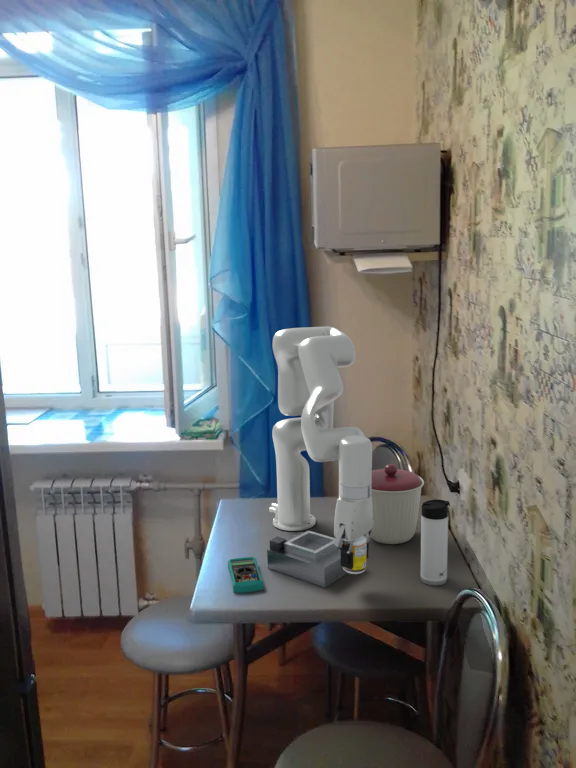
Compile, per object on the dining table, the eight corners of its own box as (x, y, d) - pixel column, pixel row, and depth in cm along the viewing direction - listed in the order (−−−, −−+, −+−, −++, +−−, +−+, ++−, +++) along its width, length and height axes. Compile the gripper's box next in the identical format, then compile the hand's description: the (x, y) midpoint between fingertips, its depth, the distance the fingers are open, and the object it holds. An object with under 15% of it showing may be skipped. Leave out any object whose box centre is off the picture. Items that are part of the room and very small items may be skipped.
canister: (351, 546, 192) (350, 471, 188) (365, 521, 209) (365, 453, 205) (418, 554, 186) (418, 477, 182) (427, 528, 203) (428, 457, 199)
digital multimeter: (233, 595, 167) (233, 584, 167) (227, 568, 182) (227, 557, 181) (264, 592, 169) (264, 581, 168) (256, 565, 183) (255, 554, 182)
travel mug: (448, 586, 168) (450, 506, 164) (420, 585, 169) (421, 505, 166) (447, 574, 174) (449, 497, 170) (420, 573, 175) (421, 496, 172)
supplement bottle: (339, 565, 169) (339, 526, 167) (360, 562, 170) (361, 522, 168) (347, 576, 164) (348, 535, 161) (370, 573, 165) (370, 532, 163)
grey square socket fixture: (267, 567, 181) (266, 540, 179) (301, 549, 191) (301, 523, 190) (324, 587, 169) (324, 558, 168) (357, 566, 180) (357, 539, 178)
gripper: (362, 475, 171) (361, 545, 175) (319, 497, 158) (319, 571, 163) (388, 482, 167) (387, 553, 171) (347, 505, 154) (346, 581, 158)
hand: (354, 561), depth 167 cm, fingers closed on supplement bottle, 5 cm apart
